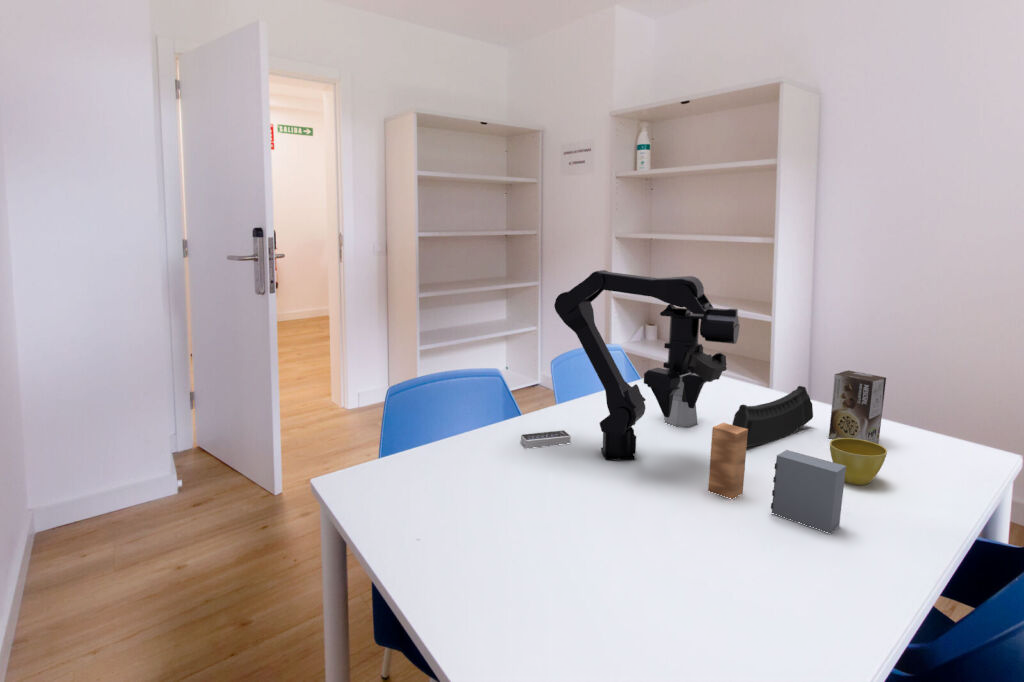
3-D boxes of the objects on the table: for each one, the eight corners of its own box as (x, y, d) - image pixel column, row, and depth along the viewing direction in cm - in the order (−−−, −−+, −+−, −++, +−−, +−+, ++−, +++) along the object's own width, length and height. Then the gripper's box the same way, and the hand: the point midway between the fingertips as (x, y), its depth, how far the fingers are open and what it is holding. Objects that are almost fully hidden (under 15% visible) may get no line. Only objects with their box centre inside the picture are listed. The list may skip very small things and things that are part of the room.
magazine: (735, 417, 137) (810, 361, 152) (723, 413, 140) (797, 359, 154) (743, 482, 143) (814, 422, 158) (731, 477, 146) (802, 419, 160)
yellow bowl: (815, 474, 129) (818, 441, 127) (849, 467, 133) (853, 435, 131) (858, 494, 120) (863, 458, 118) (894, 485, 124) (899, 451, 122)
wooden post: (708, 491, 121) (712, 427, 118) (718, 485, 123) (723, 422, 121) (731, 500, 117) (737, 433, 114) (742, 493, 120) (748, 429, 117)
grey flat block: (770, 513, 111) (775, 455, 109) (781, 506, 114) (786, 449, 112) (829, 534, 104) (836, 472, 102) (839, 526, 107) (846, 465, 105)
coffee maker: (660, 413, 168) (664, 348, 165) (694, 415, 167) (698, 349, 163) (666, 432, 154) (670, 361, 150) (703, 434, 152) (708, 362, 149)
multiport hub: (520, 443, 147) (520, 434, 146) (564, 439, 150) (564, 430, 149) (526, 450, 142) (526, 440, 142) (571, 445, 146) (571, 436, 145)
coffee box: (879, 444, 146) (888, 377, 143) (865, 449, 143) (874, 381, 140) (841, 433, 154) (848, 369, 151) (827, 438, 150) (834, 372, 147)
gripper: (694, 351, 115) (689, 432, 118) (743, 338, 127) (737, 412, 130) (643, 342, 123) (640, 418, 126) (694, 331, 135) (690, 400, 139)
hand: (679, 412), depth 130 cm, fingers open, 9 cm apart
